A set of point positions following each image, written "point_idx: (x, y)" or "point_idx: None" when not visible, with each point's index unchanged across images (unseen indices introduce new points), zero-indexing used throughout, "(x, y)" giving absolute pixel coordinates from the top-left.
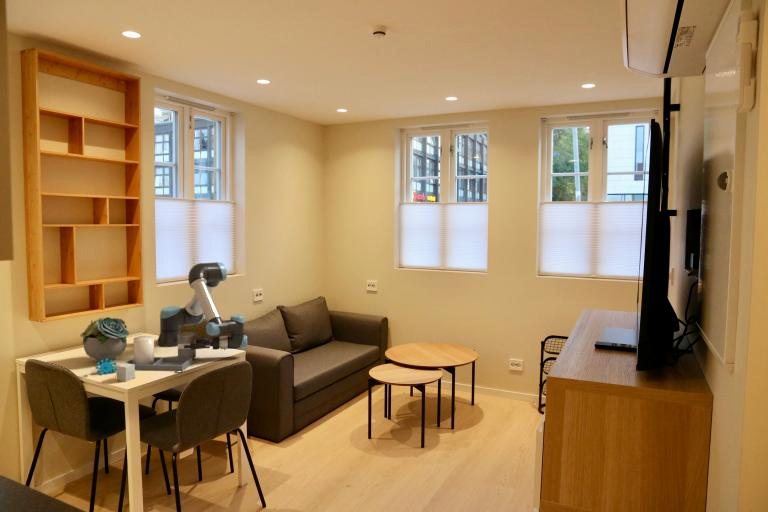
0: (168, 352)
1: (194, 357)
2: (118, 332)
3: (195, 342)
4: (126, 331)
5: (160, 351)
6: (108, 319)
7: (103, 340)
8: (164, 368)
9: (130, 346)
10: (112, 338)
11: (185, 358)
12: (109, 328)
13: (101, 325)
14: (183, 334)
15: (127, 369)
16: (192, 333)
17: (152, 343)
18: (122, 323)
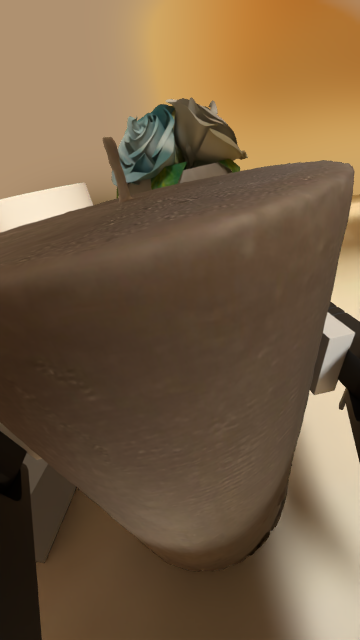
0: (351, 306)
1: (162, 558)
2: (125, 162)
3: (146, 502)
4: (157, 158)
5: (346, 282)
6: (155, 108)
7: (117, 190)
8: None
9: (352, 226)
10: (133, 185)
11: (33, 465)
12: (119, 145)
13: (124, 135)
14: (115, 199)
15: None
16: (183, 201)
17: None
18: (193, 122)
